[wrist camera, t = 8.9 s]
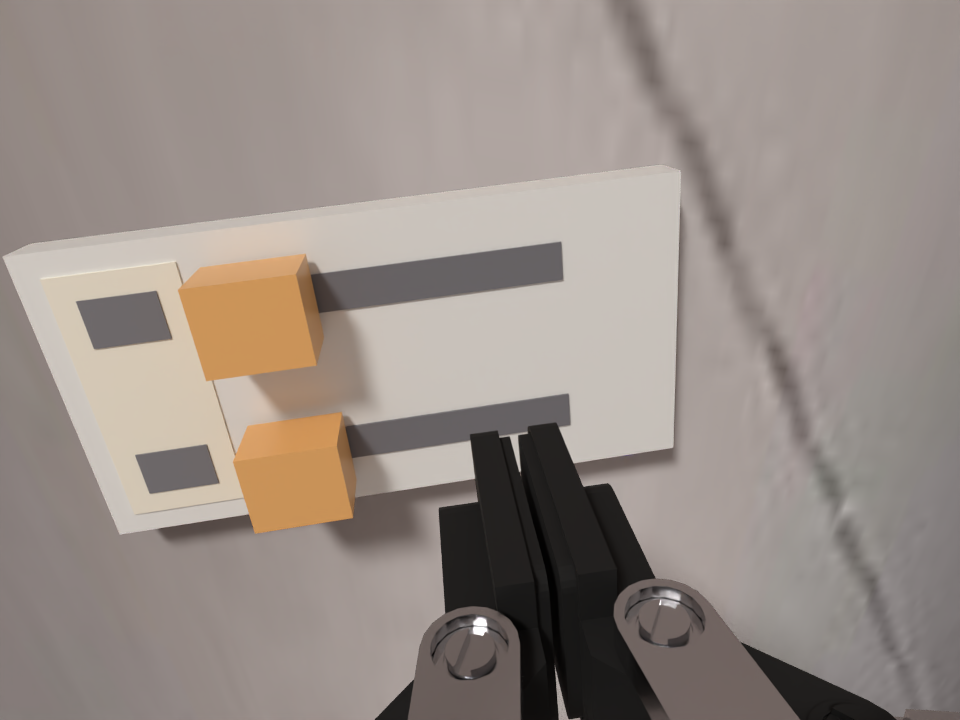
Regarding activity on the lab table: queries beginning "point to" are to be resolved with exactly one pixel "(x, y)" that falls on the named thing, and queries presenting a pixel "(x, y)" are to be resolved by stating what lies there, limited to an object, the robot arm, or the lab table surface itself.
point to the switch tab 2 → (296, 472)
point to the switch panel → (374, 336)
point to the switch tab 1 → (253, 317)
